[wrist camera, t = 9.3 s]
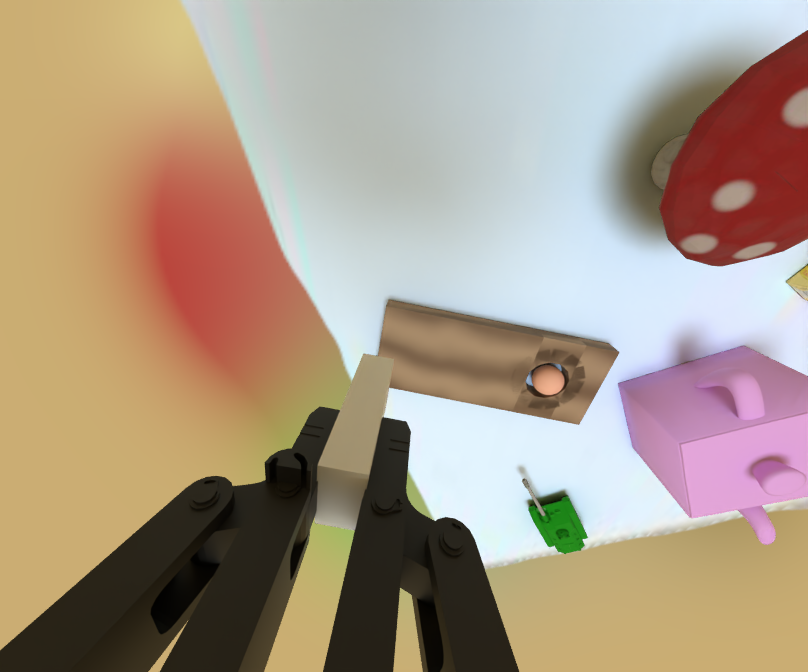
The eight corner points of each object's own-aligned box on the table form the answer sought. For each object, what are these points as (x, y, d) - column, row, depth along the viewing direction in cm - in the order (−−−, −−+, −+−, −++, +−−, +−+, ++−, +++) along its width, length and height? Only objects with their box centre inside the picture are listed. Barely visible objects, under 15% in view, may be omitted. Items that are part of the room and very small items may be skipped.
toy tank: (547, 455, 50) (559, 481, 45) (581, 524, 56) (595, 553, 51) (507, 467, 51) (514, 494, 47) (545, 533, 58) (554, 562, 53)
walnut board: (388, 299, 40) (386, 305, 38) (608, 343, 40) (619, 352, 38) (376, 374, 45) (373, 384, 43) (571, 413, 45) (578, 424, 43)
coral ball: (531, 362, 41) (557, 379, 38) (549, 357, 43) (575, 373, 40) (521, 386, 42) (546, 404, 40) (539, 380, 45) (563, 396, 42)
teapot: (639, 477, 50) (711, 573, 37) (611, 355, 41) (692, 425, 29) (747, 452, 46) (866, 549, 34) (741, 312, 38) (900, 372, 25)
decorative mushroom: (803, 77, 28) (1157, -35, 14) (724, 252, 35) (914, 289, 21) (624, 79, 29) (797, -24, 15) (581, 249, 36) (675, 282, 22)
